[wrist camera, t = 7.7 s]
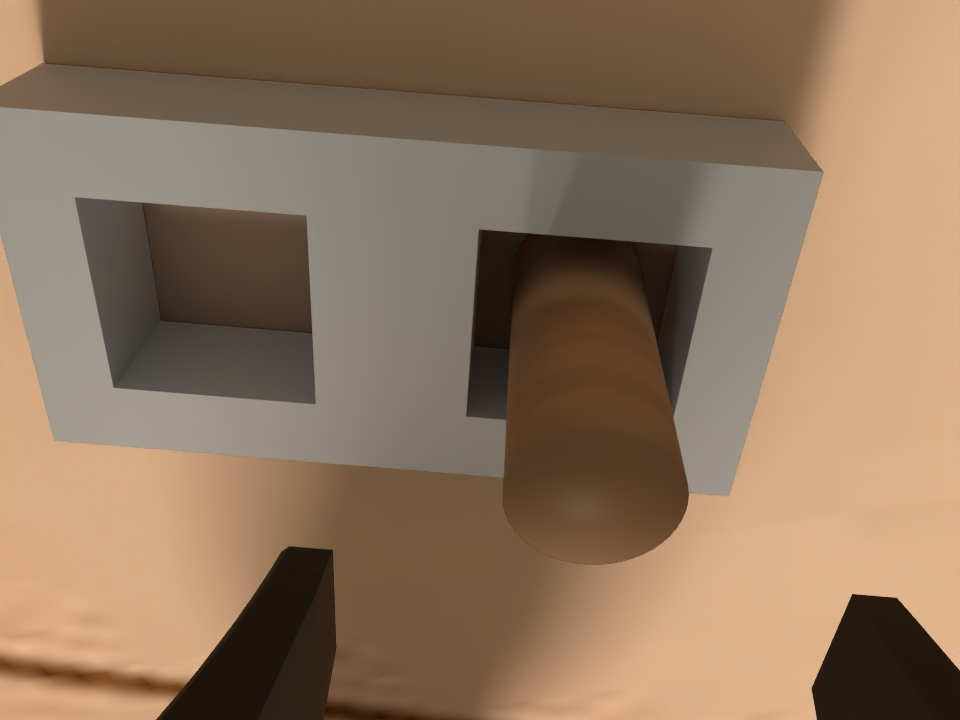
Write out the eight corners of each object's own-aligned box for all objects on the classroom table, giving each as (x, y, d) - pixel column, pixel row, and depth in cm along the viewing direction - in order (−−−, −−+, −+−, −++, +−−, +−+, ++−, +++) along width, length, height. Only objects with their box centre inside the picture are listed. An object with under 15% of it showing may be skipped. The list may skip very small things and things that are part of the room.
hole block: (707, 419, 23) (729, 496, 20) (106, 370, 23) (54, 440, 21) (784, 121, 19) (823, 172, 16) (42, 62, 19) (-34, 104, 16)
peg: (623, 334, 22) (662, 575, 15) (504, 317, 22) (491, 551, 15) (652, 224, 20) (711, 440, 13) (524, 206, 20) (517, 413, 13)
